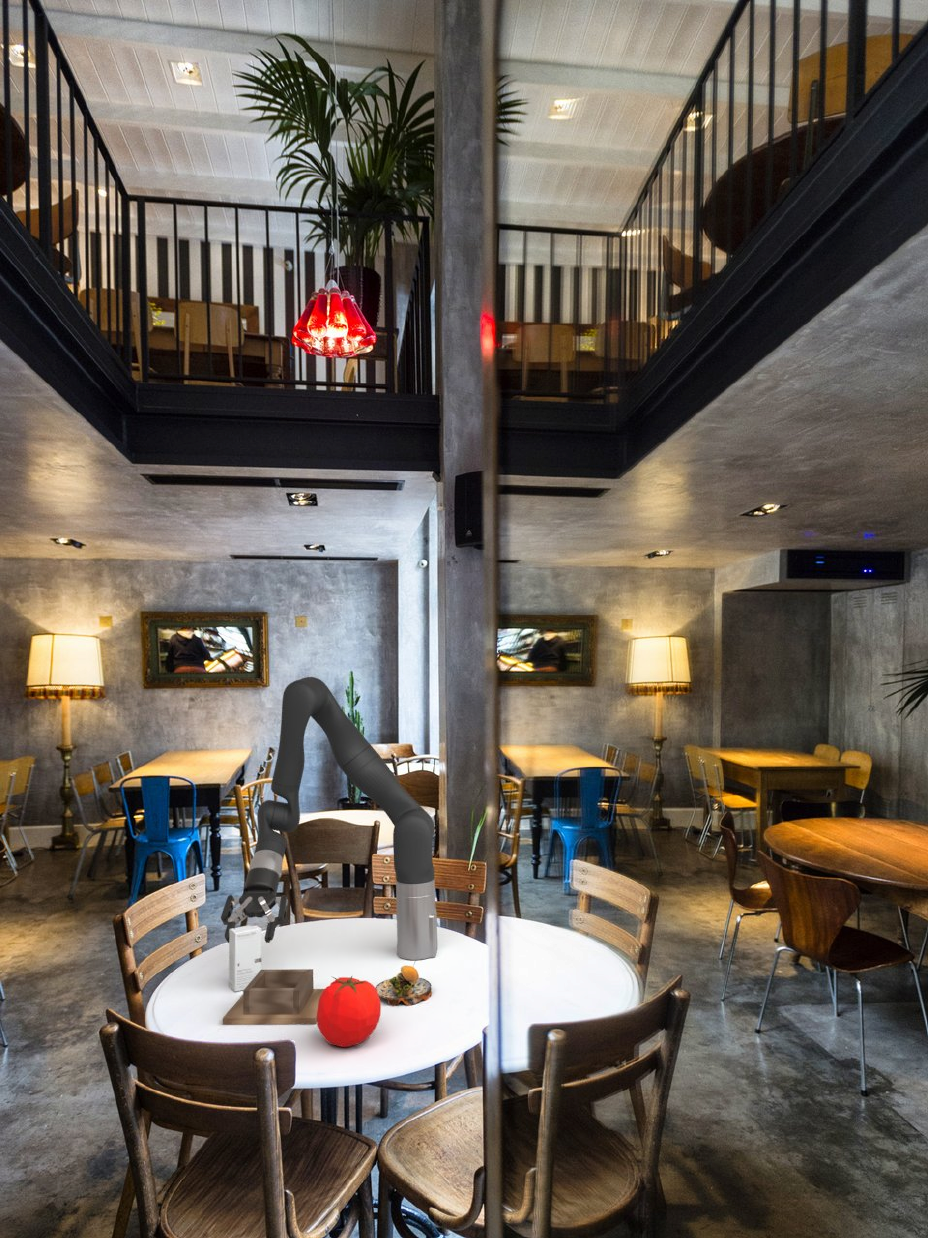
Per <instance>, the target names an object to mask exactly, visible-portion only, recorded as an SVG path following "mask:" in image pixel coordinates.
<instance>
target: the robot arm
mask: <svg viewBox="0 0 928 1238" xmlns="http://www.w3.org/2000/svg"><path fill="white" fill-rule="evenodd" d="M310 718H312V719H313V720H314V721H315V722H316V724H318V726H319V727H320V729H322V731H323V732H324V734H325V736H326V738H327V740H328V743H329V746H330V749H331V752H332V755H333V757H334V759H335V761H336V764H337V765H338V767H339V768H340V770H341V771H342V772H343V774H345V776H346V777H347V778H348V779H349V781H350V782H351V783H352V784H353V785H354V786H355V787H356V788H357V789H358V790H359V791H360V792H362V793H363V794H364V795H366V796H367V797H368V798H369V799H371V800H372V801H373V802H374V803H376V804H377V805H378V806H379V807H380V808H381V809H382V811H384V812H383V813H385V814H386V815H387V817H388V818H389V820H390V821H391V823H392V824H393V827H394V828H393V833H392V835H393V836H392V839H393V840H392V845H393V847H392V849H393V866H394V871H395V888H396V889H395V890H396V892H395V893H396V894H395V897H396V901H395V902H396V941H397V943H396V944H397V945H396V948H397V956H398V957H399V958H400V959H401V958H402V959H403V960H409V961H410V960H413V961H415V960H416V961H417V960H424V959H425V960H426V959H429V958H436V956H437V951H438V927H437V926H438V925H437V924H438V922H437V921H438V920H437V917H438V916H437V908H436V889H435V888H436V887H435V885H436V884H435V883H436V882H435V879H436V878H435V867H434V864H433V863H434V862H433V860H434V859H433V837H434V836H435V831H436V827H435V822H434V819H433V818H432V816H431V815H430V814H429V813H428V812H427V811H426V810H425V809H424V808H423V807H422V806H421V805H420V804H419V803H418V802H417V801H416V800H415V799H414V798H413V797H412V796H411V795H410V794H409V793H408V791H407V790H406V789H405V788H404V787H403V786H402V783H400V781H399V780H398V779H397V777H396V776H395V774H394V773H393V771H391V769H390V767H389V766H388V765H387V763H386V762H385V761H384V759H383V758H382V756H380V754H379V752H377V750H376V749H375V748H374V747H373V745H372V744H371V743H370V741H368V740H367V738H365V737H366V736H365V737H364V734H362V733H361V731H360V729H358V727H357V726H356V725H355V724H354V722H353V721H351V719H350V718H349V717H348V716H347V714H346V713H345V711H344V710H343V709H342V707H341V705H340V704H339V702H338V701H337V699H336V698H335V696H334V695H333V693H332V692H331V690H330V689H329V687H328V686H327V685H326V683H325V682H324V681H323V680H321V679H319V678H317V677H314V676H307V677H306V676H305V677H303V678H300V679H296V680H294V681H292V682H290V683H289V684H288V685H286V687H285V689H284V691H283V693H282V703H281V722H280V734H279V744H278V750H277V757H276V760H275V761H276V762H275V765H274V770H273V775H272V780H271V783H270V785H271V786H270V789H271V792H272V793H273V794H275V795H277V796H279V797H280V798H282V799H284V800H286V802H284V801H277V800H271V799H267V800H264V801H262V803H260V805H259V806H258V809H257V813H256V815H257V817H256V819H257V841H256V846H255V848H254V849H255V850H254V852H253V853H254V854H253V857H252V859H251V861H250V864H249V868H248V872H247V875H246V879H245V883H244V885H243V886H244V887H243V891H242V894H241V896H240V897H235V896H233V895H232V894H230V895H228V896H227V898H226V901H225V904H224V907H223V910H222V913H221V915H220V919H221V922H222V924H223V925H224V926H226V929H225V931H224V938H225V940H226V942H227V944H229V937H230V935H229V930H230V929H232V928H237V927H236V926H237V925H238V924H240V922H243V921H244V920H245V919H247V918H249V919H250V918H263V917H266V918H267V920H268V922H267V924H266V930H265V935H264V941H265V944H270V943H271V941H273V939H274V937H275V932H276V928H277V926H279V925H282V926H284V925H285V924H286V922H287V915H288V909H289V900H288V897H287V895H286V894H282V895H281V897H279V896H278V897H276V896H277V893H278V888H279V884H280V880H281V877H282V871H283V862H284V858H285V853H286V849H287V848H286V847H287V843H288V842H287V838H286V837H285V836H284V835H283V834H281V833H280V832H283V833H292V832H294V831H295V830H296V829H298V827H299V824H300V821H301V812H300V811H301V810H300V795H299V794H300V789H301V788H300V787H301V783H302V778H303V774H304V770H305V762H306V761H305V759H306V758H305V746H304V745H305V743H304V742H305V741H304V740H305V733H306V729H307V725H308V724H309V721H310ZM277 831H278V832H277ZM239 904H240V905H239ZM238 905H239V906H238ZM276 905H277V906H278V908H279V909H278V915H277V916H274V914H273V912H272V909H273V908H274V907H275V906H276ZM237 906H238V907H237ZM236 907H237V908H236ZM234 909H235V910H234ZM233 910H234V912H233ZM232 913H233V914H232Z"/></svg>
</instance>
